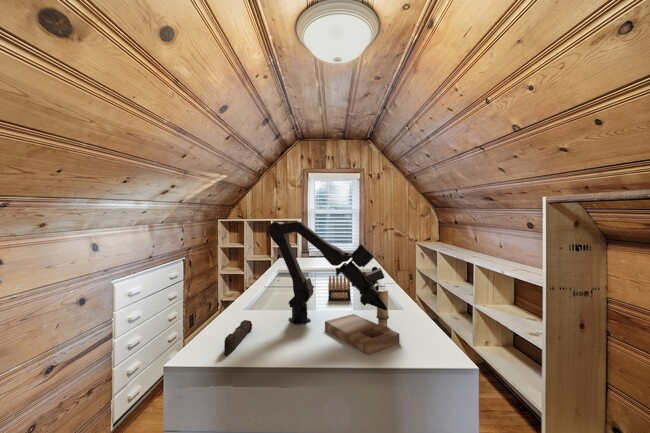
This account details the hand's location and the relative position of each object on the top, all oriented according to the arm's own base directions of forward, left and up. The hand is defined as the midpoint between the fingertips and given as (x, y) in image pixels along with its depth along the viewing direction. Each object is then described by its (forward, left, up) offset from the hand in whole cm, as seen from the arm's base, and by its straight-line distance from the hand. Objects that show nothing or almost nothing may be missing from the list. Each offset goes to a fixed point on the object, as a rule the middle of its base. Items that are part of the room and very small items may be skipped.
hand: (386, 307), depth 100 cm
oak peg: (-1, -1, -7) cm, 7 cm away
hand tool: (-18, -48, -7) cm, 51 cm away
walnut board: (+1, -13, -7) cm, 15 cm away
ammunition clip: (-36, +6, -7) cm, 37 cm away
